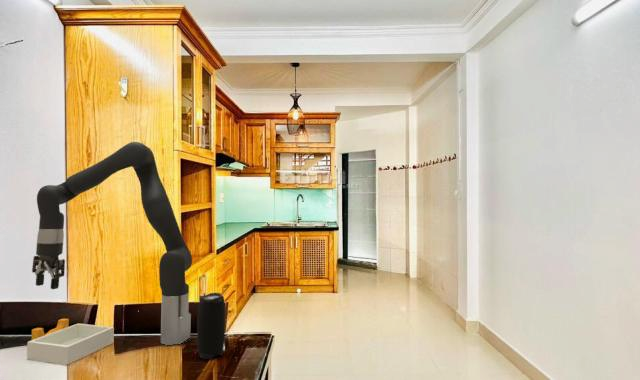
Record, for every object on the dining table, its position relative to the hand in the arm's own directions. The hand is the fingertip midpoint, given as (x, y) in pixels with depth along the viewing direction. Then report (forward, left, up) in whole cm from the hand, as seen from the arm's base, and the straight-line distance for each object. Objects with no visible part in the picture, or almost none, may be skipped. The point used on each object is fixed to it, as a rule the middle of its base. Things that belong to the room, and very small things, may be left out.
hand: (46, 287), depth 126 cm
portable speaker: (-61, -8, -20) cm, 65 cm away
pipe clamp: (+2, -3, -21) cm, 21 cm away
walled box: (-14, +1, -20) cm, 25 cm away
